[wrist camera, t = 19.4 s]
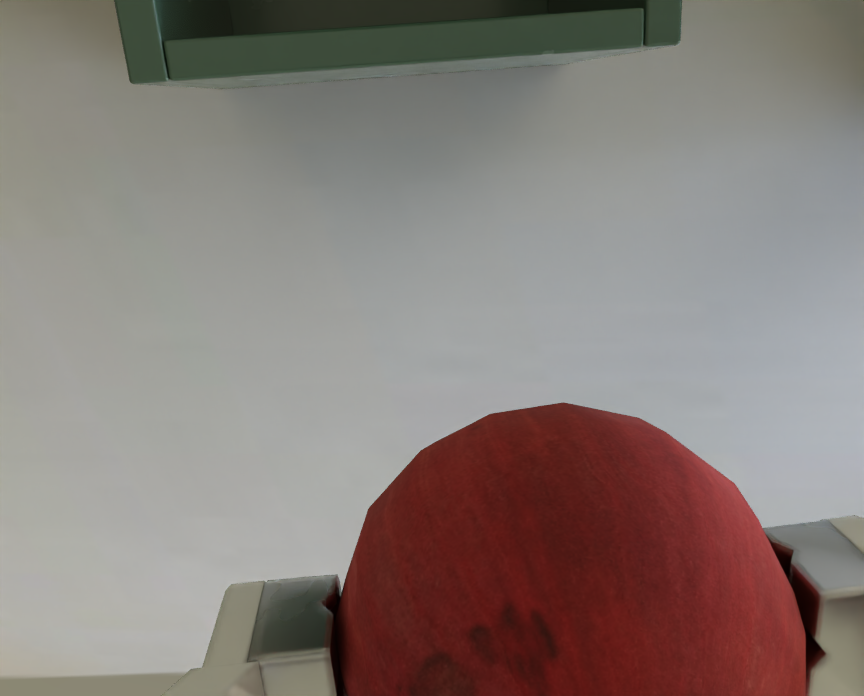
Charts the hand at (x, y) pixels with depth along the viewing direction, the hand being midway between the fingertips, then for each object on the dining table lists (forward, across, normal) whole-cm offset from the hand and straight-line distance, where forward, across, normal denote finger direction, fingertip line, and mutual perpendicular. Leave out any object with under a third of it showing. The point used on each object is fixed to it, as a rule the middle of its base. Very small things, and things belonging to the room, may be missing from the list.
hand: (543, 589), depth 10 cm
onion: (+3, 0, 0) cm, 3 cm away
